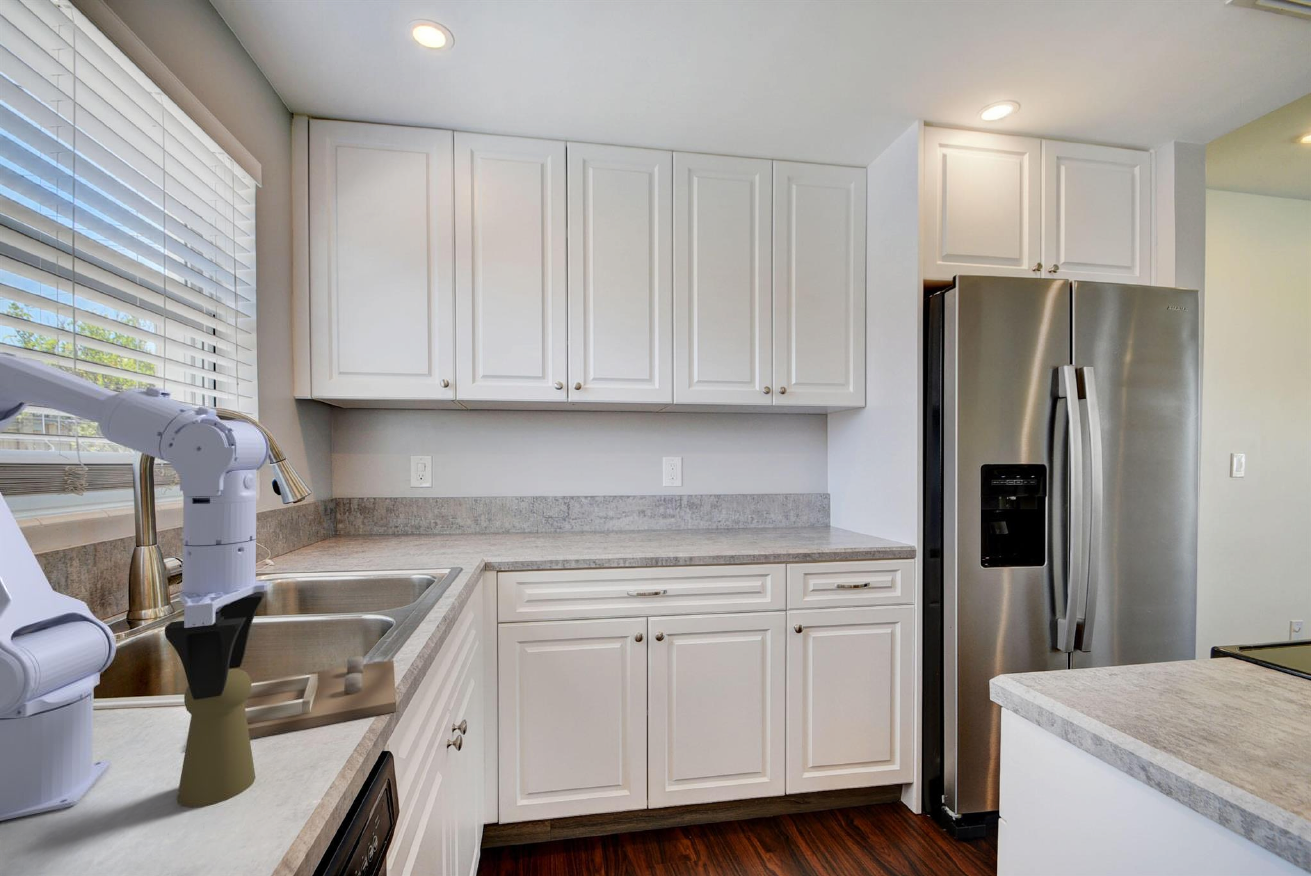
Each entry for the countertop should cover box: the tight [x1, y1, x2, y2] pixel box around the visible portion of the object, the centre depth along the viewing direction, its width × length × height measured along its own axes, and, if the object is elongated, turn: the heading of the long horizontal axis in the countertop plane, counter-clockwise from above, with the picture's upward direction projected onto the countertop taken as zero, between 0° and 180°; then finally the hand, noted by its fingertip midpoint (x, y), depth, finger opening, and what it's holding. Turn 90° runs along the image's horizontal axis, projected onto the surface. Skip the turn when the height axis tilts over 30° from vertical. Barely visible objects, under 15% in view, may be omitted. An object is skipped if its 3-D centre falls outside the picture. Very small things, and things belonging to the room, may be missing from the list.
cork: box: [176, 668, 256, 808], centre depth 55 cm, size 6×6×11 cm
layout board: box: [244, 655, 397, 740], centre depth 74 cm, size 20×16×3 cm
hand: (219, 681), depth 55 cm, fingers open, 7 cm apart
